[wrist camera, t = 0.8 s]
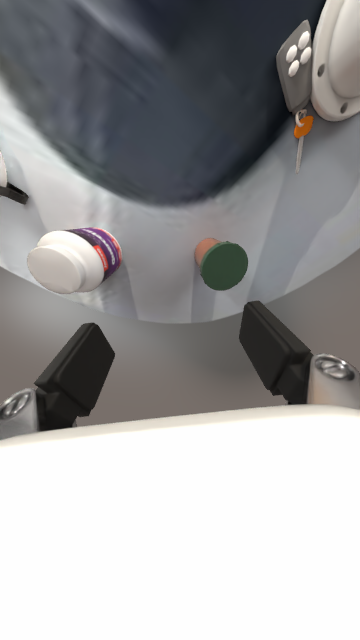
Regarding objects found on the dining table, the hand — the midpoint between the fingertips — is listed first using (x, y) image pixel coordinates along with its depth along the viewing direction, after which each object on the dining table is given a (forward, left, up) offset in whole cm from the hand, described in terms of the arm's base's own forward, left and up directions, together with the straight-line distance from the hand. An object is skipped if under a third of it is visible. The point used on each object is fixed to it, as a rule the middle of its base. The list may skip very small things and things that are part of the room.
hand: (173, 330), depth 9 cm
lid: (-7, +4, -14) cm, 16 cm away
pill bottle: (+11, -8, -25) cm, 29 cm away
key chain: (-25, -6, -25) cm, 36 cm away
